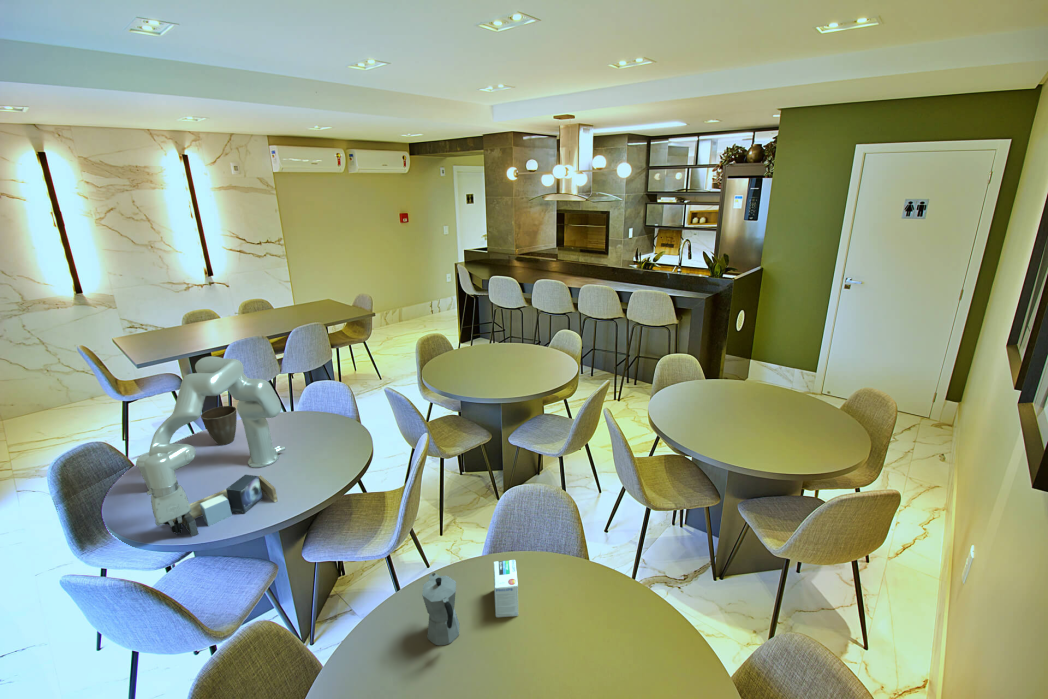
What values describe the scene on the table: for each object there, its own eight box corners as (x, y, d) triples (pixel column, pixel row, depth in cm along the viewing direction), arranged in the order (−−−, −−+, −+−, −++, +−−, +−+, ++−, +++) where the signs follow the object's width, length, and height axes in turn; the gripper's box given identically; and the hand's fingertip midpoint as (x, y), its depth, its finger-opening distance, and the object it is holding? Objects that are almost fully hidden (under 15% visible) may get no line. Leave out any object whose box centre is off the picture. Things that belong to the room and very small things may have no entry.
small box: (245, 514, 190) (239, 490, 187) (230, 512, 192) (224, 489, 188) (264, 498, 200) (259, 475, 197) (250, 496, 201) (244, 473, 198)
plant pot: (209, 438, 250) (202, 409, 245) (243, 432, 256) (237, 403, 251) (206, 451, 237) (198, 421, 232) (241, 444, 243) (234, 414, 238)
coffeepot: (419, 621, 141) (413, 569, 135) (451, 608, 145) (446, 557, 140) (437, 664, 128) (431, 609, 123) (471, 648, 132) (467, 594, 127)
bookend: (190, 522, 186) (186, 508, 184) (198, 533, 180) (194, 520, 178) (183, 524, 185) (180, 511, 183) (192, 536, 178) (188, 522, 176)
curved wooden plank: (263, 487, 207) (260, 475, 205) (277, 501, 198) (275, 487, 196) (173, 525, 185) (169, 512, 183) (185, 542, 176) (181, 528, 174)
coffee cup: (177, 483, 212) (168, 451, 207) (155, 495, 204) (145, 463, 199) (161, 479, 215) (152, 448, 210) (138, 491, 207) (128, 460, 202)
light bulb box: (494, 589, 152) (492, 560, 148) (516, 587, 152) (515, 558, 149) (495, 618, 141) (494, 588, 138) (519, 616, 142) (518, 585, 139)
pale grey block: (227, 510, 193) (222, 493, 191) (232, 516, 190) (228, 499, 187) (203, 520, 188) (199, 503, 185) (208, 526, 184) (204, 509, 182)
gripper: (142, 502, 166) (156, 547, 172) (193, 482, 176) (204, 526, 182) (136, 493, 171) (150, 538, 176) (186, 475, 181) (198, 518, 187)
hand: (178, 532), depth 179 cm, fingers closed
